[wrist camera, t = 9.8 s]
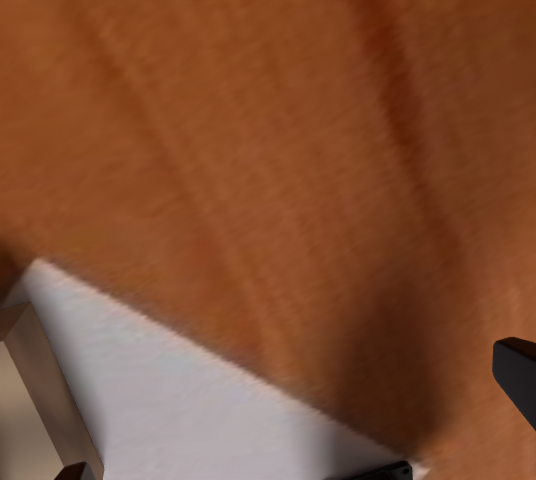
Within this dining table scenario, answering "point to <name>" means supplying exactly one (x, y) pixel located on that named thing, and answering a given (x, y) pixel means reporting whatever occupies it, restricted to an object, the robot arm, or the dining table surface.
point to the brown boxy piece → (36, 405)
